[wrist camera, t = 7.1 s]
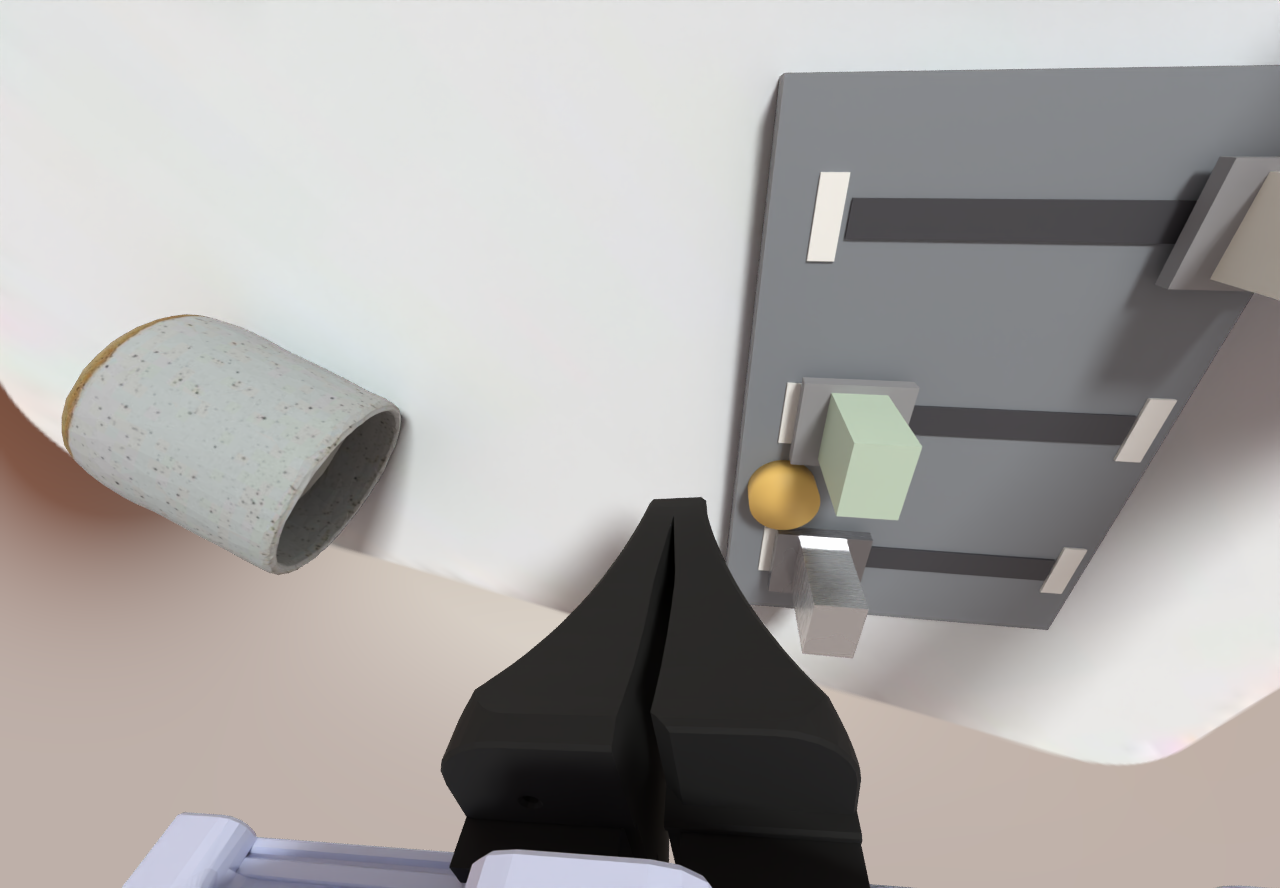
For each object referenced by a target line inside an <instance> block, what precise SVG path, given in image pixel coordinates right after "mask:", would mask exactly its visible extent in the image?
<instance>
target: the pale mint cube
mask: <svg viewBox="0 0 1280 888" xmlns="http://www.w3.org/2000/svg"><path fill="white" fill-rule="evenodd" d="M919 389H920V388H919V387H918V385H917V384H916V383H915V382H907V381H883V380H859V379H835V378H811V377H803V378H802V384H801V390H800V396H799V401H798V407H797V413H796V419H795V425H794V430H793V436H792V442H791V448H790V453H789V459H790V464H792V465H809V466H820V467H821V470H822V474H823V477H824V480H825V483H826V486H827V489H828V492H829V495H830V498H831V501H832V504H833V508H834V511H835V514H836V516H841V517H856V518H870V519H885V520H898V519H899V516H900V513H901V510H902V507H903V504H904V501H905V498H906V495H907V492H908V489H909V486H910V483H911V480H912V477H913V474H914V471H915V468H916V465H917V462H918V459H919V455H920V452H921V449H922V445H921V444H920V442H919V441H918V439H917V438H916V436H915V435H914V433H913V432H912V430H911V429H910V427H909V426H908V425H909V422H910V419H911V415H912V412H913V409H914V406H915V402H916V399H917V396H918V393H919Z"/></svg>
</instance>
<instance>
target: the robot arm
mask: <svg viewBox="0 0 1280 888" xmlns="http://www.w3.org/2000/svg"><path fill="white" fill-rule="evenodd" d="M441 772H442V775H443V777H444V780H445V782H446V785H447V786H448V788H449V789H450V791H451V793H452V794H453V796H454V797H455V799H456V800H457V802H458V804H459V805H460V807H461V809H462V810H463V812H464V813H465V815H466V816H467V817H466V820H465V823H464V826H463V829H462V832H461V835H460V837H459V841H458V843H457V846H456V849H455V852H444V851H430V850H417V849H405V848H391V847H379V846H366V845H353V844H339V843H327V842H314V841H301V840H289V839H276V838H262V837H256V833H255V832H254V831H253V830H252V828H251V827H249V826H248V825H247V824H246V823H244V822H243V821H241V820H239V819H237V818H234V817H231V816H226V815H216V814H202V813H187V812H184V813H181V814H178V815H177V817H176V818H175V819H174V821H173V822H172V823H171V824H170V826H169V827H168V828H167V830H166V831H165V832H164V833H163V835H162V836H161V838H160V839H159V840H158V841H157V843H156V844H155V845H154V846H153V848H152V849H151V850H150V852H149V853H148V854H147V855H146V857H145V858H144V859H143V861H142V862H141V863H140V865H139V866H138V867H137V868H136V870H135V871H134V872H133V874H132V875H131V876H130V877H129V879H128V880H127V881H126V883H125V884H124V885H123V886H122V888H911V887H898V886H884V885H872V884H869V881H868V875H867V870H866V866H865V861H864V856H863V852H862V847H861V843H862V833H861V829H860V823H859V819H858V814H857V804H858V797H859V790H860V783H861V774H860V767H859V763H858V760H857V757H856V755H855V751H854V749H853V746H852V744H851V741H850V739H849V736H848V734H847V732H846V730H845V728H844V726H843V724H842V722H841V720H840V718H839V716H838V714H837V712H836V710H835V709H834V706H833V704H832V703H831V701H830V699H829V697H828V696H827V695H826V694H825V693H824V692H823V691H822V690H821V689H820V688H819V687H818V686H817V685H816V684H815V683H814V682H813V681H812V680H811V679H810V678H809V677H808V676H807V675H806V674H805V673H804V672H803V671H802V670H801V669H800V668H799V666H798V665H797V664H796V663H795V662H794V661H793V660H792V659H791V657H790V656H789V655H788V654H787V653H786V652H785V651H784V649H783V648H782V647H781V646H780V644H779V643H778V642H777V641H776V639H775V638H774V637H773V636H772V634H771V633H770V632H769V631H768V629H767V628H766V627H765V626H764V624H763V623H762V622H761V620H760V619H759V617H758V616H757V614H756V613H755V612H754V610H753V609H752V607H751V606H750V604H749V603H748V601H747V600H746V598H745V596H744V595H743V593H742V592H741V590H740V588H739V587H738V585H737V583H736V581H735V580H734V578H733V576H732V574H731V572H730V570H729V568H728V566H727V564H726V562H725V560H724V558H723V556H722V554H721V552H720V549H719V547H718V545H717V542H716V540H715V537H714V535H713V532H712V529H711V526H710V523H709V519H708V515H707V506H706V500H704V499H703V498H702V497H695V498H673V499H654V500H653V501H652V502H651V503H650V504H649V506H648V508H647V510H646V512H645V514H644V516H643V518H642V519H641V521H640V523H639V525H638V526H637V528H636V530H635V531H634V533H633V535H632V536H631V538H630V539H629V541H628V543H627V544H626V546H625V547H624V549H623V550H622V552H621V553H620V555H619V556H618V558H617V559H616V560H615V562H614V563H613V564H612V566H611V567H610V569H609V570H608V571H607V573H606V574H605V575H604V577H603V578H602V579H601V580H600V582H599V583H598V584H597V585H596V587H595V588H594V589H593V590H592V591H591V593H590V594H589V595H588V596H587V597H586V598H585V599H584V600H583V601H582V603H581V604H580V605H579V606H578V607H577V608H576V609H575V610H574V611H573V612H572V613H571V614H570V615H569V616H568V617H567V618H566V619H565V620H564V621H563V622H562V623H561V624H560V625H559V626H558V627H557V628H556V629H555V630H554V631H553V632H551V633H550V634H549V635H548V636H547V637H546V638H545V639H543V640H542V641H541V642H540V643H539V644H537V645H536V646H535V647H534V648H533V649H531V650H530V651H529V652H528V653H527V654H525V655H524V656H523V657H521V658H520V659H519V660H517V661H516V662H515V663H513V664H512V665H511V666H509V667H508V668H506V669H505V670H504V671H502V672H500V673H499V674H498V675H496V676H495V677H493V678H492V679H490V680H489V681H487V682H486V683H485V684H483V685H481V686H480V687H478V688H477V689H475V691H474V692H473V694H472V696H471V698H470V700H469V702H468V704H467V705H466V707H465V709H464V711H463V713H462V715H461V717H460V719H459V721H458V723H457V726H456V728H455V731H454V733H453V735H452V738H451V740H450V742H449V745H448V747H447V749H446V752H445V754H444V756H443V759H442V763H441ZM669 839H670V843H671V847H672V852H673V856H674V860H675V864H672V863H669ZM1217 888H1263V887H1250V886H1222V887H1217Z"/></svg>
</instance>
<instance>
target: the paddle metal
mask: <svg viewBox="0 0 1280 888" xmlns="http://www.w3.org/2000/svg"><path fill="white" fill-rule="evenodd" d="M872 543H873V539H872V536H871V534H870V532H859V531H844V530H830V529H816V528H802V527H798V528H794V529H790V530H776V534H775V540H774V546H773V552H772V557H771V563H770V569H769V575H768V581H767V585H768V591H772V592H784V593H792V597H793V603H794V609H795V614H796V620H797V626H798V632H799V637H800V643H801V649H802V653H803V654H814V655H825V656H835V657H846V658H853V656H854V653H855V650H856V647H857V644H858V641H859V638H860V635H861V632H862V629H863V625H864V622H865V619H866V616H867V613H868V610H869V609H868V606H867V602H866V599H865V596H864V593H863V590H862V587H861V584H860V583H861V579H862V576H863V573H864V569H865V566H866V563H867V560H868V556H869V553H870V550H871V547H872Z"/></svg>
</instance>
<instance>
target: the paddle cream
mask: <svg viewBox="0 0 1280 888" xmlns="http://www.w3.org/2000/svg"><path fill="white" fill-rule="evenodd" d="M1155 285H1157V286H1160V287H1163V288H1165V289H1173V290H1216V291H1250V292H1254V293H1257V294H1260V295H1263V296H1267V297H1270V298H1273V299H1276V300H1280V157H1219V159H1218V161H1217V163H1216V165H1215V167H1214V169H1213V171H1212V173H1211V175H1210V177H1209V179H1208V181H1207V183H1206V185H1205V187H1204V188H1203V190H1202V192H1201V194H1200V196H1199V198H1198V200H1197V202H1196V204H1195V206H1194V208H1193V210H1192V212H1191V214H1190V216H1189V218H1188V220H1187V222H1186V224H1185V226H1184V228H1183V230H1182V232H1181V234H1180V236H1179V238H1178V240H1177V242H1176V244H1175V246H1174V248H1173V250H1172V252H1171V254H1170V255H1169V257H1168V259H1167V261H1166V263H1165V265H1164V267H1163V269H1162V271H1161V273H1160V275H1159V277H1158V279H1157V281H1156V283H1155Z"/></svg>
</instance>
